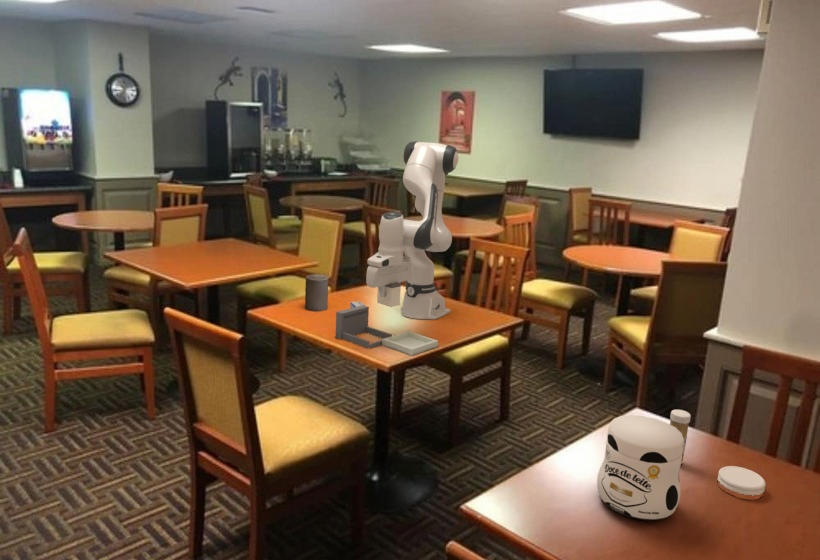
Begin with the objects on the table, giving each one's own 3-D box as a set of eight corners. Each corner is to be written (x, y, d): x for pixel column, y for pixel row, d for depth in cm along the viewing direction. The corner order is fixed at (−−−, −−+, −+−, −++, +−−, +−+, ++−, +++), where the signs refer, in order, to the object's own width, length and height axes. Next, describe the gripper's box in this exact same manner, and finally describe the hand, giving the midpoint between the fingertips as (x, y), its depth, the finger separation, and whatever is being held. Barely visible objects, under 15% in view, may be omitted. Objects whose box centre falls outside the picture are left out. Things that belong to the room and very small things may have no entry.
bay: (362, 329, 257) (363, 305, 255) (394, 340, 246) (395, 315, 244) (335, 337, 247) (336, 311, 244) (367, 349, 236) (368, 322, 234)
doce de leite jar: (599, 521, 140) (609, 443, 136) (591, 479, 157) (600, 409, 152) (685, 533, 138) (698, 454, 133) (667, 489, 154) (679, 418, 150)
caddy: (385, 300, 244) (386, 278, 242) (400, 304, 240) (401, 282, 238) (376, 302, 241) (377, 280, 239) (391, 307, 236) (392, 284, 234)
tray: (408, 337, 251) (408, 331, 251) (437, 346, 242) (438, 340, 242) (381, 345, 241) (382, 339, 240) (411, 355, 232) (412, 349, 231)
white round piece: (768, 504, 150) (770, 491, 150) (720, 496, 153) (723, 482, 152) (757, 482, 160) (760, 469, 159) (713, 475, 162) (715, 462, 161)
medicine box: (349, 322, 265) (349, 301, 263) (359, 321, 267) (360, 301, 265) (355, 328, 258) (356, 307, 256) (366, 327, 260) (367, 306, 258)
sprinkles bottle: (682, 468, 164) (691, 418, 161) (663, 464, 166) (671, 414, 163) (682, 460, 168) (690, 411, 165) (663, 456, 170) (671, 407, 167)
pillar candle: (300, 309, 280) (301, 274, 276) (312, 303, 289) (313, 270, 285) (320, 313, 276) (321, 278, 273) (332, 307, 285) (333, 273, 282)
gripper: (403, 253, 246) (402, 289, 249) (363, 260, 231) (362, 298, 234) (416, 256, 242) (414, 292, 245) (376, 263, 227) (375, 302, 230)
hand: (388, 295), depth 240 cm, fingers closed on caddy, 4 cm apart
